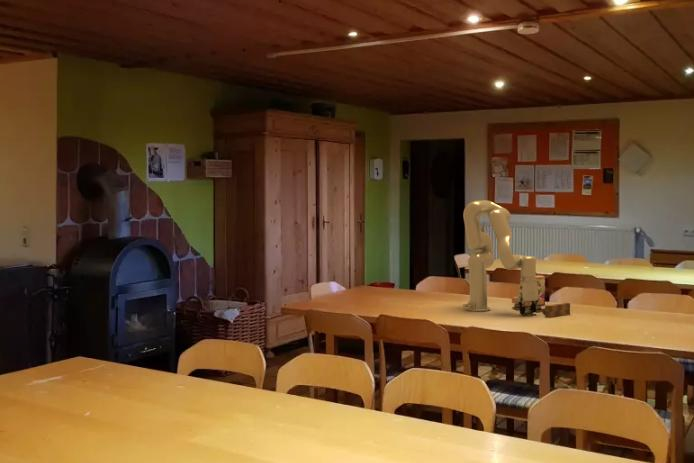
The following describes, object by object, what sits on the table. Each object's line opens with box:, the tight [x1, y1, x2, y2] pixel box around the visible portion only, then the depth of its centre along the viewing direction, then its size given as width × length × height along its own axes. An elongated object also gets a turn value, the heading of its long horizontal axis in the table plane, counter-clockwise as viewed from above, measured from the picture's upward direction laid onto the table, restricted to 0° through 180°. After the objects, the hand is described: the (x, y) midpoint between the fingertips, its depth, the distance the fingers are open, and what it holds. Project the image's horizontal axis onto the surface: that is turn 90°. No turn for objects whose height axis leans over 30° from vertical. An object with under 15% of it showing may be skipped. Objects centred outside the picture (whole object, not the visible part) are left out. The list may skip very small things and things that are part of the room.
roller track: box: [511, 303, 545, 316], centre depth 387 cm, size 9×25×4 cm, turn 30°
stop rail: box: [544, 302, 571, 319], centre depth 373 cm, size 16×2×6 cm, turn 120°
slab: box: [511, 296, 544, 306], centre depth 392 cm, size 11×13×3 cm
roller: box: [520, 308, 535, 316], centre depth 377 cm, size 7×3×3 cm, turn 120°
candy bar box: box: [536, 275, 546, 306], centre depth 407 cm, size 11×5×16 cm, turn 84°
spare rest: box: [527, 313, 537, 318], centre depth 377 cm, size 5×6×1 cm
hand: (527, 312), depth 377 cm, fingers closed on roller, 7 cm apart
